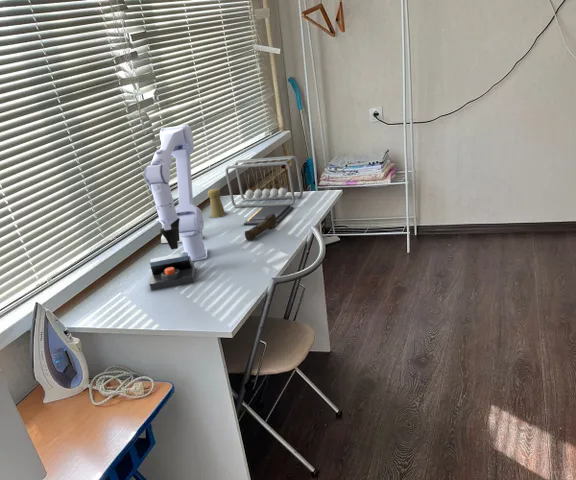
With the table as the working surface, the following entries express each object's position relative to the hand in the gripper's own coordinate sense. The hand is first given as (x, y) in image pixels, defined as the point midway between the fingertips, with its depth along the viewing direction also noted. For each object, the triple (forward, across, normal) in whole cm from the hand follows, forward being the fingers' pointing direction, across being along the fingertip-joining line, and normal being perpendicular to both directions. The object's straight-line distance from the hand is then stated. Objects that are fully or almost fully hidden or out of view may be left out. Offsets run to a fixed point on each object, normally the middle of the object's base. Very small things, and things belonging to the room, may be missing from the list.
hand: (175, 245), depth 199 cm
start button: (+7, +7, -3) cm, 10 cm away
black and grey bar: (+8, +1, -3) cm, 9 cm away
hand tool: (+11, -30, +29) cm, 43 cm away
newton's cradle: (+11, -70, +33) cm, 78 cm away
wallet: (+11, -49, +32) cm, 60 cm away
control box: (+10, +4, -3) cm, 11 cm away
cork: (+11, -65, +11) cm, 67 cm away
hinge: (+11, -40, -2) cm, 41 cm away
